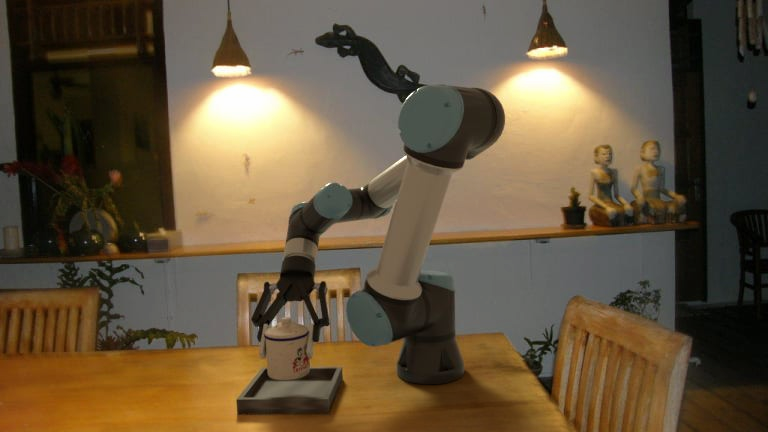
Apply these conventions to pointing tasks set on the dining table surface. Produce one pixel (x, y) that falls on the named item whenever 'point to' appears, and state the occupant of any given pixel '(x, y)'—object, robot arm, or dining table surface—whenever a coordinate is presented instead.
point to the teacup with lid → (287, 350)
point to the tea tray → (291, 393)
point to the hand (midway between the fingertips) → (285, 355)
